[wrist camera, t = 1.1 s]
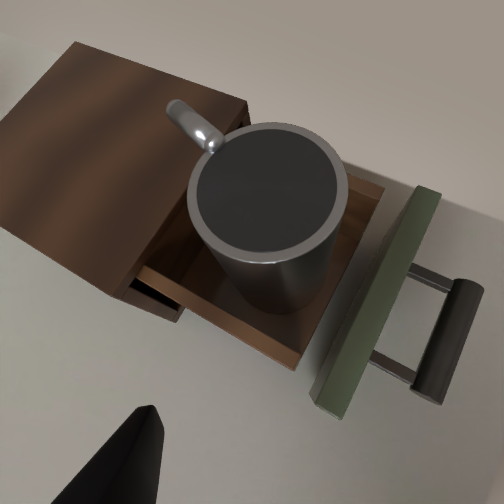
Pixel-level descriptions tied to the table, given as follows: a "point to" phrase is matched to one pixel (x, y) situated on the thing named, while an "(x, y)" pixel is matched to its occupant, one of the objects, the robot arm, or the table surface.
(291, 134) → the cup
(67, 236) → the cabinet
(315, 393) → the drawer
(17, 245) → the table surface
